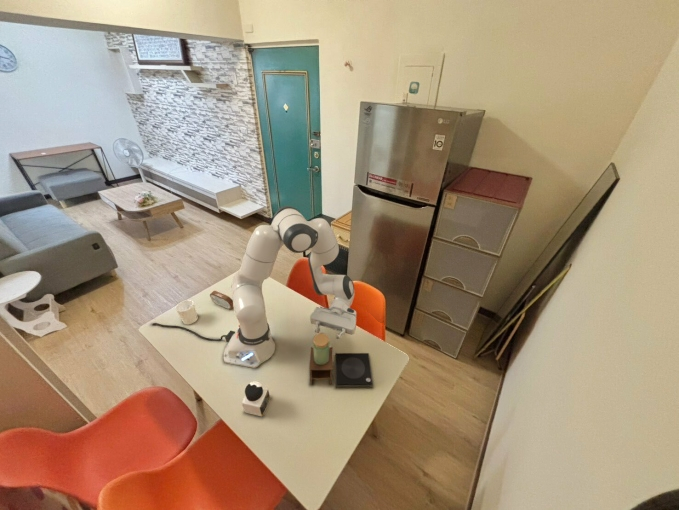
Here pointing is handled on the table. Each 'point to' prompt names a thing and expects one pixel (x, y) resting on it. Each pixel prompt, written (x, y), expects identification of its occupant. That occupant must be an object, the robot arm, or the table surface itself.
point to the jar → (321, 349)
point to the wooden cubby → (321, 368)
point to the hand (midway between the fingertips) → (327, 334)
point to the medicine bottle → (255, 398)
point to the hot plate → (353, 370)
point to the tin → (221, 299)
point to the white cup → (187, 311)
